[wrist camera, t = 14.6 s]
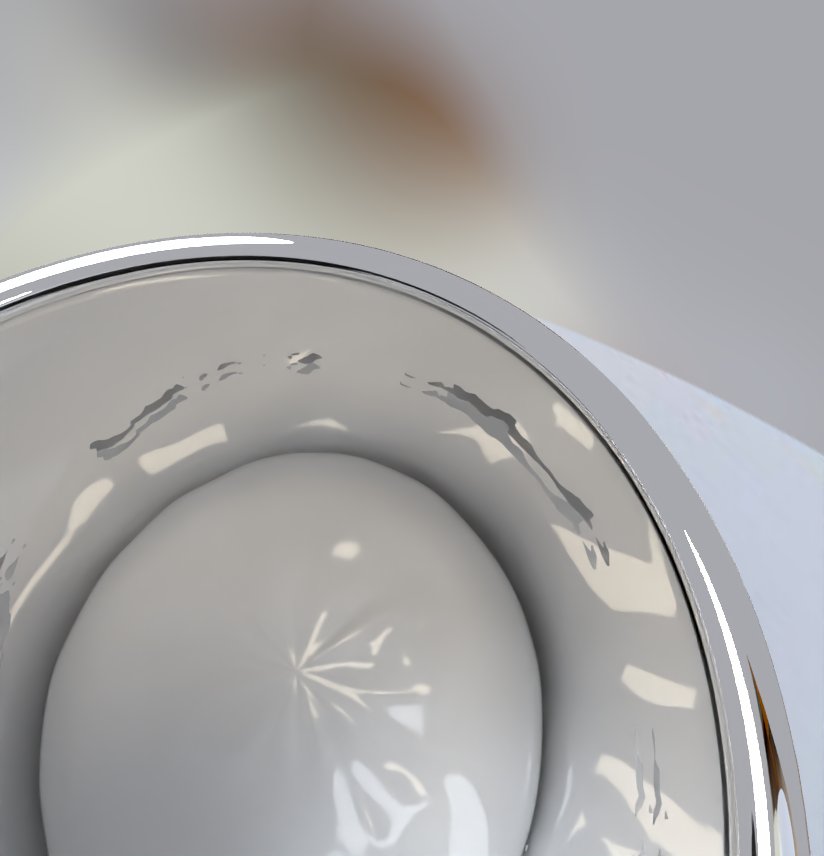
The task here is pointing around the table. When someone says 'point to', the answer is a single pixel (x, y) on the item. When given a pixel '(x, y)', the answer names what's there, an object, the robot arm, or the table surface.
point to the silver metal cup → (355, 577)
